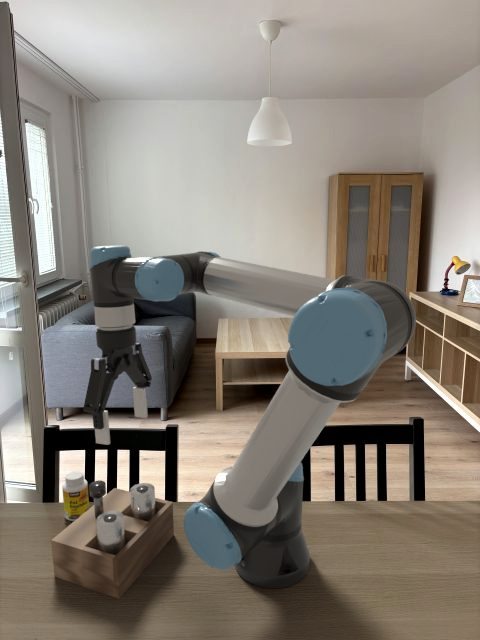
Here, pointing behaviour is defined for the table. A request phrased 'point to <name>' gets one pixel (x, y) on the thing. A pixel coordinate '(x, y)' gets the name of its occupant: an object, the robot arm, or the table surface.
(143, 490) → the knob far
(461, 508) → the table surface
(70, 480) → the supplement bottle
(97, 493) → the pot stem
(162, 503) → the wooden box
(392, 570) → the table surface
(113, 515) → the knob near
